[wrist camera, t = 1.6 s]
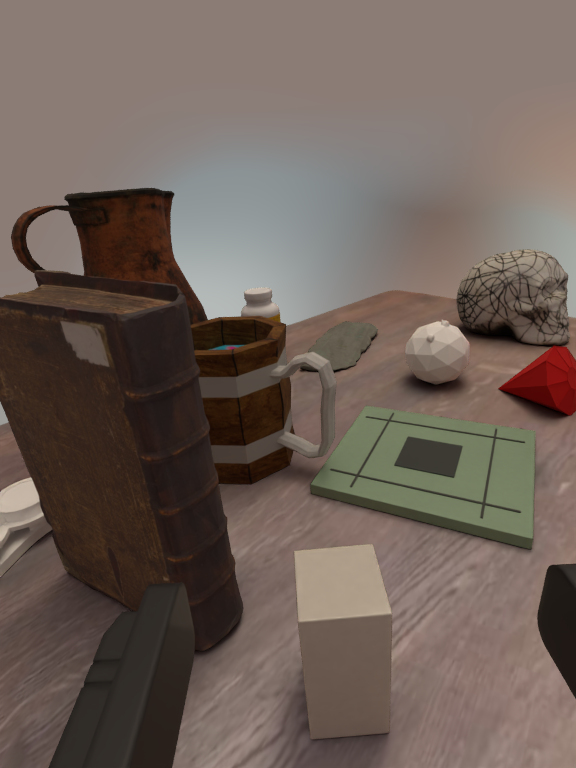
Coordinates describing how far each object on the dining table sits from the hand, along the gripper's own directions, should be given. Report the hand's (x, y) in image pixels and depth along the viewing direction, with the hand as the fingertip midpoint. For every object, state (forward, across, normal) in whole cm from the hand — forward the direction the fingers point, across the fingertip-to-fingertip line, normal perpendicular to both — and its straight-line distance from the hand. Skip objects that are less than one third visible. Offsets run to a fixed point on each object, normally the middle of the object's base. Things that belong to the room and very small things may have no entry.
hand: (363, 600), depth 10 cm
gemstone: (+46, -30, +19) cm, 58 cm away
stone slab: (+72, -8, +18) cm, 74 cm away
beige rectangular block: (+11, -1, +20) cm, 23 cm away
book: (+20, +14, +20) cm, 32 cm away
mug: (+38, +6, +20) cm, 43 cm away
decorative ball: (+54, -21, +19) cm, 61 cm away
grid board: (+34, -13, +19) cm, 41 cm away
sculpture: (+73, -39, +18) cm, 85 cm away
